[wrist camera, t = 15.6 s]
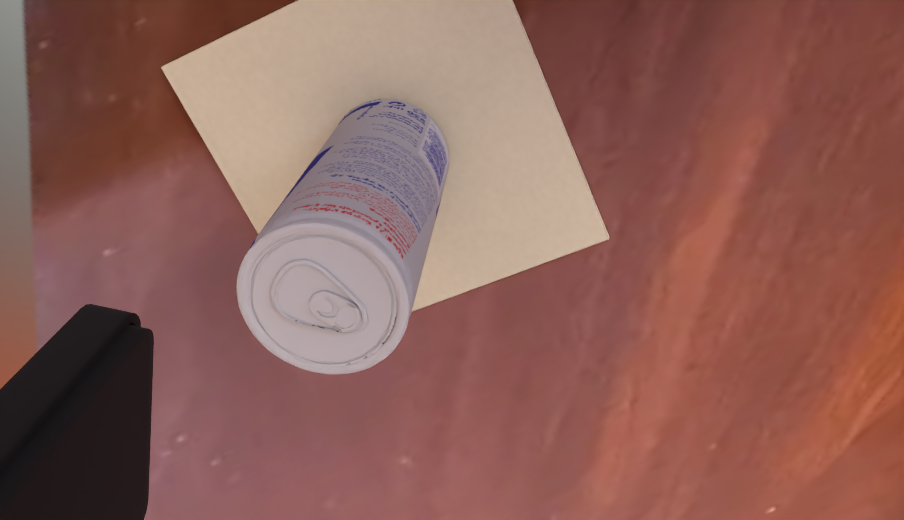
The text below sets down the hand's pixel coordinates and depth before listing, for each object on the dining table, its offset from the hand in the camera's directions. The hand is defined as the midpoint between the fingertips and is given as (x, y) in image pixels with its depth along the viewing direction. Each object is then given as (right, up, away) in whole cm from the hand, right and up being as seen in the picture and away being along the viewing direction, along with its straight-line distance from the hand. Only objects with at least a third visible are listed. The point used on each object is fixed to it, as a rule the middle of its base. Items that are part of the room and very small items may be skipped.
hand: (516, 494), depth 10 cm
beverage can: (-4, +8, +30) cm, 31 cm away
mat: (-4, +8, +30) cm, 31 cm away
